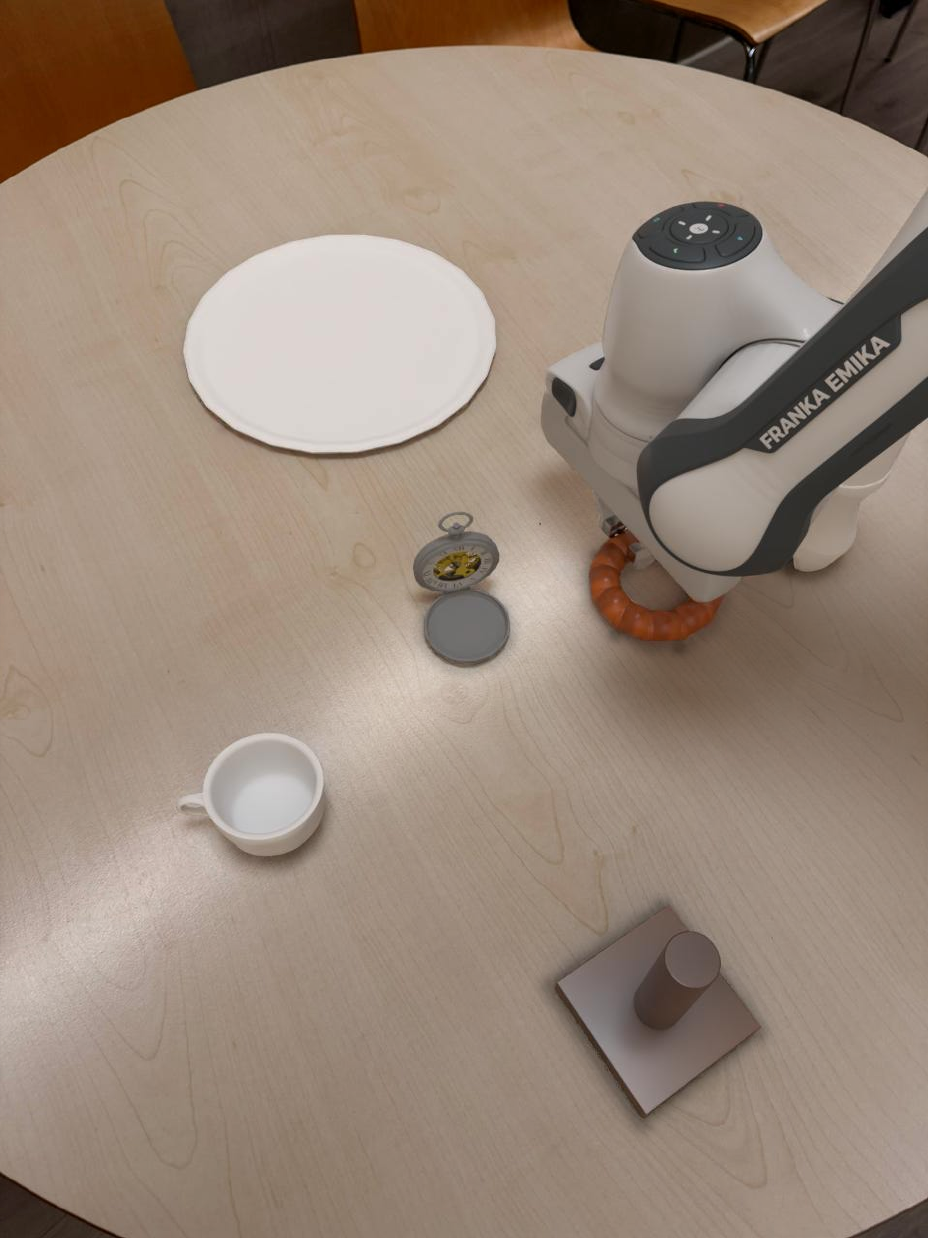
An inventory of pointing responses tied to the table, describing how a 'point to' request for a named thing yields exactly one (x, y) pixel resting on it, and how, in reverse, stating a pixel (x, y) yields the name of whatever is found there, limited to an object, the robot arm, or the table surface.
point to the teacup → (262, 794)
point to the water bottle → (844, 513)
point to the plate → (339, 344)
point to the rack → (657, 1008)
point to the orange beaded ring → (633, 615)
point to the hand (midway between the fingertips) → (625, 544)
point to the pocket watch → (461, 595)
